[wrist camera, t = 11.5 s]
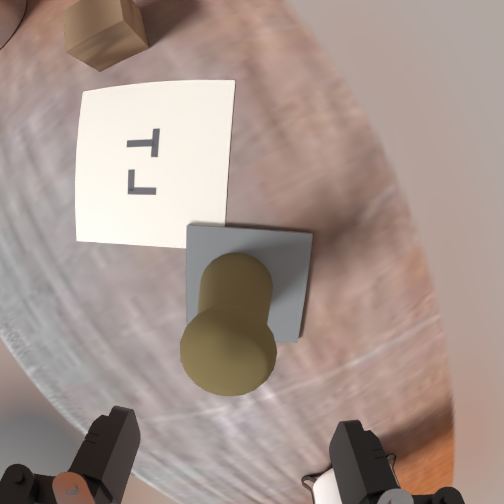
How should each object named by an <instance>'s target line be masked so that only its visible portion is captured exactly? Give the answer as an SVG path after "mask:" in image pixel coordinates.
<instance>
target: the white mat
mask: <svg viewBox="0 0 504 504" xmlns="http://www.w3.org/2000/svg"><path fill="white" fill-rule="evenodd" d="M234 90H235V80H180V81H162V82H149V83H138V84H129V85H121V86H114V87H107V88H101V89H95V90H89V91H84V92H83V97H82V104H81V111H80V120H79V129H78V140H77V154H76V179H75V209H76V234H77V241H87V242H102V243H116V244H131V245H145V246H160V247H175V248H186V227H187V225H188V224H190V225H207V226H224V227H225V216H226V198H227V182H228V167H229V153H230V139H231V126H232V114H233V102H234Z"/></svg>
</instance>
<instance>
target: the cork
mask: <svg viewBox="0 0 504 504" xmlns="http://www.w3.org/2000/svg"><path fill="white" fill-rule="evenodd" d="M272 291H273V283H272V278H271V275H270V273H269V271H268V270H267V268H266V266H265V265H264V264H262V263H261V262H260V261H259V260H258V259H257V258H255V257H252V256H250V255H247V254H244V253H229V254H224V255H221V256H219V257H218V258H216V259H214V260H213V261H211V263H210V264H209V265H208V266H207V267H206V268H205V270H204V272H203V275H202V277H201V282H200V292H199V302H198V313H197V315H196V316H195V317H194V319H193V320H192V321H191V322H190V323H189V324H188V325H187V327H186V329H185V331H184V334H183V336H182V339H181V342H180V354H181V362H182V365H183V367H184V369H185V372H186V373H187V375H188V376H189V377H190V378H191V379H192V380H193V382H194V383H195V384H196V385H198V386H199V387H201V388H202V389H204V390H205V391H208V392H210V393H213V394H216V395H222V396H237V395H244V394H246V393H249V392H251V391H254V390H255V389H256V388H258V387H259V386H260V385H261V384H263V383H264V382H265V381H266V380H267V379H268V377H269V376H270V374H271V373H272V371H273V369H274V366H275V362H276V356H277V348H276V343H275V339H274V334H273V333H272V331H271V330H270V328H269V327H268V325H267V322H268V316H269V310H270V304H271V298H272Z"/></svg>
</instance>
